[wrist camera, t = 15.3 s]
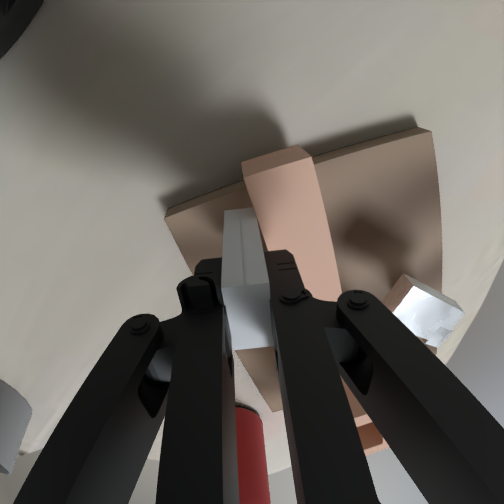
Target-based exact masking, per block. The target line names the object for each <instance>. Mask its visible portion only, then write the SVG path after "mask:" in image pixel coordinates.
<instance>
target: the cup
mask: <svg viewBox="0 0 504 504" xmlns="http://www.w3.org/2000/svg"><path fill="white" fill-rule="evenodd" d="M31 415H32V408H31V406H30V405H29V403H28V402H27V400H26V399H25V398H24V397H23V396H22V395H21V394H20V393H19V392H18V391H17V390H15V389H14V388H12V387H11V386H10V385H8V384H7V383H5V382H4V381H2V380H0V472H1V473H4V474H6V475H11V472H12V469H13V466H14V463H15V460H16V457H17V454H18V451H19V448H20V445H21V442H22V439H23V437H24V434H25V431H26V428H27V426H28V423H29V421H30V418H31Z"/></svg>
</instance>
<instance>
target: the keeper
mask: <svg viewBox="0 0 504 504" xmlns="http://www.w3.org/2000/svg"><path fill="white" fill-rule="evenodd" d="M382 303H383V304H384V305H385V306H386V307H387V308H388V309H389V310H390V311H391V312H392V313H393V314H394V315H395V316H396V317H397V318H398V319H399V320H400V321H401V322H402V323H403V324H404V325H405V326H406V327H408V328H409V329H410V330H411V331H412V332H413V333H414V334H415V335H416V336H418V337H421V338H422V339H423V341H424V342H425V344H428V345H431V346H434V347H437V348H438V347H439V346H440V345H441V344H442V342H443V341H444V340H445V339H446V338H447V337H448V336H449V334H450V333H451V332H452V330H451V329H452V328H453V327H454V326H455V324H456V323H457V322H458V321H459V320H460V318H461V317H462V316H463V315H464V313H465V312H464V311H463V310H462V309H461V307H460V306H459V305H458V304H457V302H456V301H454V300H453V299H451V298H449V297H447V296H445V295H444V294H442V293H440V292H438V291H436V290H434V289H433V288H431V287H429V286H427V285H425V284H423V283H421V282H420V281H418V280H416V279H414V278H412V277H410V276H408V275H406V274H405V273H403V274H402V275H401V277H400V278H399V279H398V281H397V282H396V283H395V285H394V286H393V287H392V289H391V290H390V291H389V293H388V294H387V295H386V297H385V298H384V299H383V300H382Z"/></svg>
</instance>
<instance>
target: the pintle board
mask: <svg viewBox="0 0 504 504" xmlns="http://www.w3.org/2000/svg"><path fill="white" fill-rule="evenodd" d="M312 160H313V164H314V167H315V171H316V175H317V179H318V183H319V187H320V191H321V196H322V200H323V204H324V208H325V213H326V217H327V221H328V226H329V230H330V235H331V240H332V244H333V249H334V254H335V259H336V264H337V269H338V274H339V280H340V285H341V290H342V293H344V292H346V291H349V290H363V291H367V292H370V293H371V294H373V295H374V296H375V297H376V298H378V299H379V300H380V301H381V302H382V300H383V299H384V298H385V297H386V295H387V294H388V293H389V291H390V290H391V289H392V287H393V286H394V285H395V283H396V282H397V281H398V279H399V278H400V277H401V275H402V274H403V273H405V274H406V275H408V276H410V277H412V278H414V279H416V280H418V281H420V282H421V283H423V284H425V285H427V286H429V287H431V288H433V289H434V290H436V291H438V292H440V293H441V292H442V227H441V208H440V195H439V184H438V174H437V166H436V158H435V151H434V144H433V138H432V132H431V131H429V130H426V129H423V128H419V127H417V128H413V129H409V130H405V131H401V132H398V133H394V134H390V135H386V136H383V137H379V138H375V139H372V140H368V141H365V142H361V143H358V144H354V145H351V146H347V147H344V148H340V149H337V150H334V151H330V152H327V153H324V154H321V155H317V156H314V157H312ZM252 207H253V204H252V201H251V198H250V195H249V193H248V190H247V187H246V184H245V181H244V180H243V181H240V182H237V183H234V184H232V185H229V186H226V187H223V188H221V189H218V190H215V191H213V192H210V193H207V194H205V195H202V196H200V197H197V198H194V199H192V200H189V201H187V202H184V203H182V204H179V205H177V206H174V207H171V208H169V209H168V211H167V213H166V215H165V217H164V219H165V221H166V223H167V225H168V227H169V229H170V231H171V233H172V235H173V237H174V239H175V241H176V243H177V245H178V247H179V249H180V251H181V253H182V255H183V257H184V259H185V261H186V263H187V265H188V267H189V268H190V270H191V272H192V274H193V276H194V271H195V266H196V265H197V264H198V263H199V262H200V261H201V260H202V259H211V258H220V257H222V252H223V231H224V211H226V210H234V209H243V208H252ZM256 217H257V216H256ZM257 222H258V219H257ZM258 227H259V232H260V237H261V242H262V247H263V252H265V251H268V249H267V246H266V243H265V240H264V237H263V234H262V231H261V228H260V225H259V222H258ZM417 337H418V336H417ZM418 338H419V339H420V340H421V341H422V342H423V343H424V344H425V342H424V341H423V339H422V338H421V337H418ZM425 345H426V346H427V347H428V348H429V349H430V350H431V351H432V352H433V353H434V355H436V353H437V347H434V346H431V345H428V344H425ZM235 351H236V353H237V355H238V357H239V358H240V360H241V362H242V363H243V365H244V367H245V368H246V370H247V372H248V373H249V375H250V377H251V378H252V380H253V382H254V383H255V385H256V387H257V388H258V390H259V392H260V393H261V395H262V396H263V398H264V400H265V401H266V403H267V405H268V406H269V408H270V409H271V411H272V412H276V411H280V410H283V405H282V399H281V392H280V386H279V379H278V373H277V371H276V364H275V350H274V346H269V347H260V348H251V349H241V350H235Z"/></svg>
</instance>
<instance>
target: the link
mask: <svg viewBox="0 0 504 504" xmlns="http://www.w3.org/2000/svg"><path fill="white" fill-rule="evenodd" d="M241 164H242V171H243V178H244V181H245V184H246V187H247V190H248V193H249V195H250V198H251V201H252V204H253V207H254V210H255V213H256V216H257V219H258V222H259V225H260V228H261V231H262V234H263V237H264V240H265V243H266V246H267V249H268V251H274V250H283V249H286V250H288V251H289V252H290V253H292V254H293V256H294V259H295V261H296V264H297V267H298V270H299V273H300V275H301V278H302V281H303V284H304V287H305V288H306V289H307V290H309V291H310V293H311V294H312V296H313V297H314V298H316V299H319V300H324V301H334V302H337V299H338V297H339V296H340V295H341V294H342V290H341V285H340V280H339V274H338V269H337V264H336V259H335V254H334V249H333V244H332V240H331V235H330V230H329V226H328V221H327V217H326V213H325V208H324V204H323V200H322V196H321V191H320V187H319V183H318V179H317V175H316V171H315V167H314V164H313V160H312V157H311V156H310V155H309V154H308V153H307V152H306V151H304V150H303V149H302V148H301V147H300V146H299V145H295V146H292V147H288V148H285V149H282V150H278V151H275V152H272V153H268V154H265V155H262V156H258V157H255V158H252V159H249V160H246V161H243V162H241ZM340 377H341V376H340ZM341 380H342V383H343V386H344V389H345V392H346V395H347V398H348V401H349V404H350V407H351V410H352V414H353V417H354V420H355V423H356V426H357V430H358V433H359V436H360V439H361V443H362V446H363V449H364V453H365V456H366V455H369V454H372V453H375V452H378V451H380V450H383V449H386V448H388V447H389V445H388V444H387V442H386V441H385V439H384V438H383V436H382V435H381V434H380V432H379V431H378V429H377V428H376V426H375V425H374V423H373V422H372V421H371V419H370V418H369V416H368V415H367V413H366V412H365V410H364V409H363V408H362V406H361V405H360V403H359V402H358V400H357V399H356V397H355V396H354V395H353V393H352V392H351V390H350V389H349V387H348V386H347V384H346V383H345V382H344V380H343V379H342V377H341Z"/></svg>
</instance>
